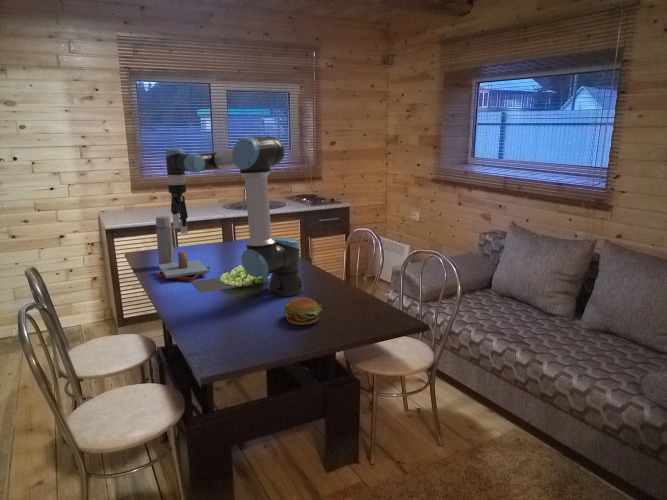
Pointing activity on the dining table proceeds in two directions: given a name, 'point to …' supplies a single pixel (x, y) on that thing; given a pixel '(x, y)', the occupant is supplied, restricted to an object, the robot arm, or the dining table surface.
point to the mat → (210, 285)
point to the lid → (182, 267)
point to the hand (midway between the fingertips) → (180, 230)
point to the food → (302, 311)
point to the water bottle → (164, 240)
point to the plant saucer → (180, 277)
